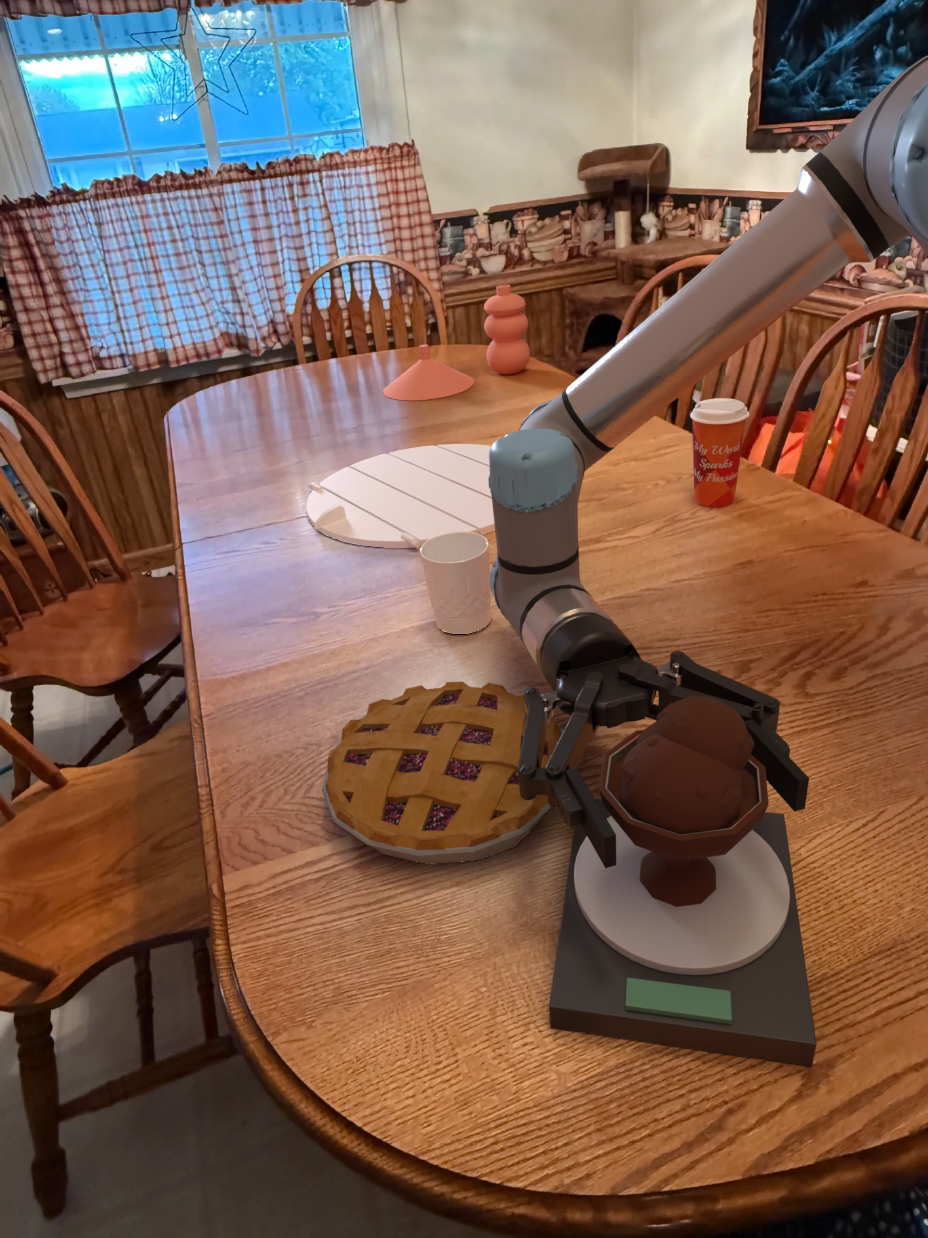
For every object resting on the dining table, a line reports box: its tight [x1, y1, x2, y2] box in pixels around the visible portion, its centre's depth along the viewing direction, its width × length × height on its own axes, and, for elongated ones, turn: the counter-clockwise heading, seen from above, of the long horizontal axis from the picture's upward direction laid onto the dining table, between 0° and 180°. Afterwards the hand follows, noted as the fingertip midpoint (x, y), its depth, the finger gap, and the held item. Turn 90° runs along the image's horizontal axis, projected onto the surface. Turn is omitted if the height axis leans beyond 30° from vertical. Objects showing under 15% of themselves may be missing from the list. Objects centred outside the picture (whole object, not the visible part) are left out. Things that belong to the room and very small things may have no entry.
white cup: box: [419, 532, 492, 634], centre depth 96 cm, size 8×8×10 cm
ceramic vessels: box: [382, 284, 531, 401], centre depth 184 cm, size 35×21×19 cm, turn 105°
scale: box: [548, 798, 818, 1067], centre depth 59 cm, size 16×19×3 cm
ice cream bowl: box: [598, 696, 770, 907], centre depth 55 cm, size 11×11×15 cm
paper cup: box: [689, 397, 750, 508], centre depth 116 cm, size 8×8×14 cm
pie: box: [321, 681, 564, 865], centre depth 73 cm, size 22×22×5 cm
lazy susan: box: [305, 443, 495, 549], centre depth 132 cm, size 40×39×3 cm
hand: (708, 823), depth 52 cm, fingers open, 13 cm apart
